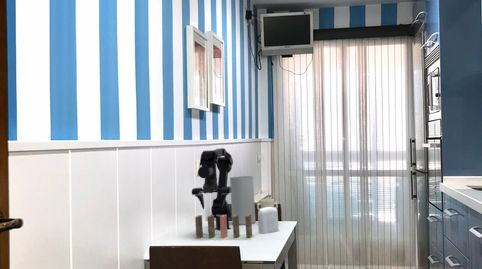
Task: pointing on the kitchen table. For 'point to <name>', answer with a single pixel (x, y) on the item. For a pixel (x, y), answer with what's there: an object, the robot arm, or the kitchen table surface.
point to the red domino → (223, 226)
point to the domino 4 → (248, 226)
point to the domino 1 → (199, 226)
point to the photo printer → (268, 220)
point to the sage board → (229, 237)
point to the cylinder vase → (242, 198)
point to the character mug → (267, 203)
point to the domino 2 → (211, 226)
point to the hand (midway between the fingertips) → (212, 208)
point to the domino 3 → (236, 226)
